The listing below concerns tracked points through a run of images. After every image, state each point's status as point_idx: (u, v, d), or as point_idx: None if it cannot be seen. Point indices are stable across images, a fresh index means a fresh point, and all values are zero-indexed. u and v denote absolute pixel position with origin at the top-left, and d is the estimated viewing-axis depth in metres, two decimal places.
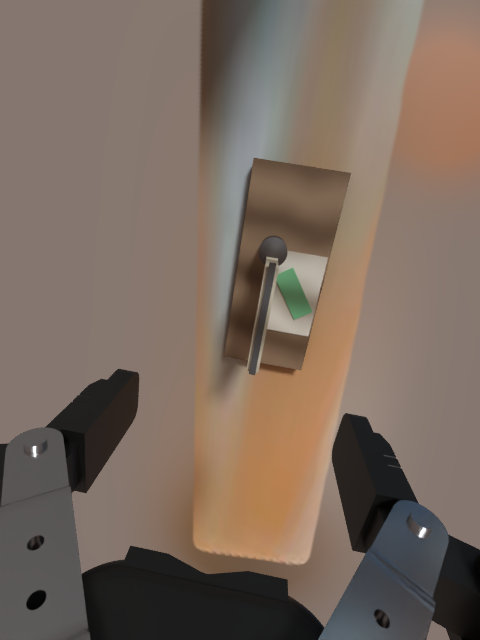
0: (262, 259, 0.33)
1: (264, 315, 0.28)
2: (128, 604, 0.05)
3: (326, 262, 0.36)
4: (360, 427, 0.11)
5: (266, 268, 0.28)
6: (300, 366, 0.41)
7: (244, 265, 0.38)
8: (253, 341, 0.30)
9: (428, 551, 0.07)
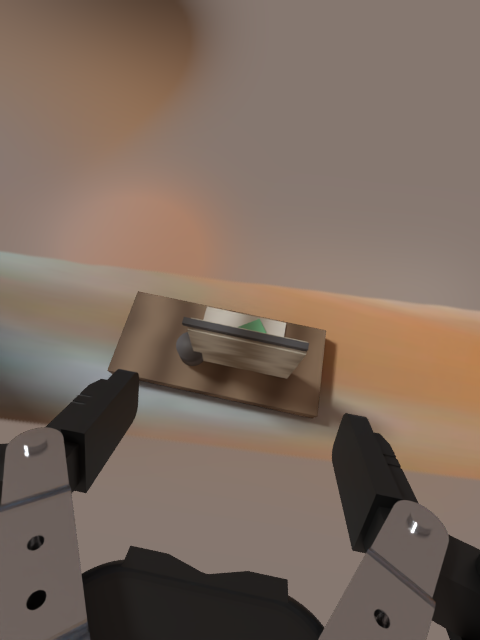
0: (196, 355, 0.33)
1: (237, 329, 0.27)
2: (128, 604, 0.05)
3: (211, 307, 0.39)
4: (360, 427, 0.11)
5: (189, 328, 0.27)
6: (321, 330, 0.39)
7: (208, 385, 0.35)
8: (269, 345, 0.27)
9: (428, 551, 0.07)
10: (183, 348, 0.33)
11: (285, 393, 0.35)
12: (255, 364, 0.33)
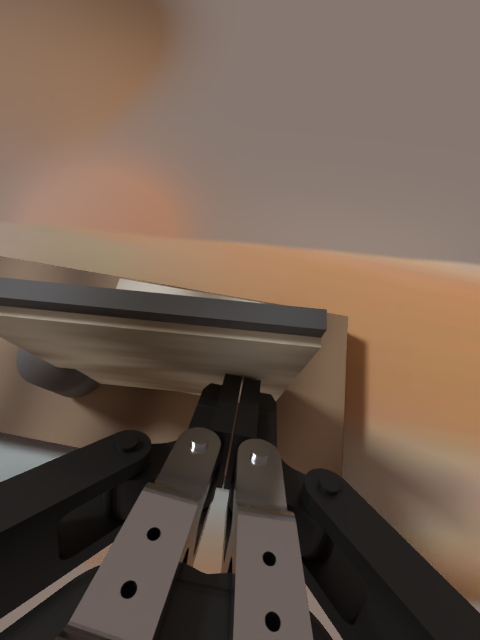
0: (62, 376, 0.14)
1: (99, 293, 0.09)
2: None
3: (128, 280, 0.20)
4: (249, 387, 0.12)
5: None
6: (339, 317, 0.20)
7: None
8: (207, 330, 0.09)
9: (254, 472, 0.08)
10: (33, 364, 0.14)
11: None
12: (200, 381, 0.14)
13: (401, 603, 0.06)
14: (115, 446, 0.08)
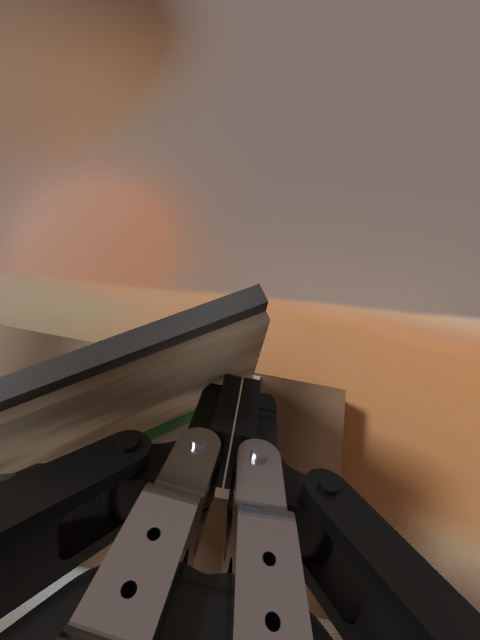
0: None
1: (26, 375, 0.08)
2: None
3: None
4: (249, 387, 0.12)
5: None
6: (336, 391, 0.18)
7: None
8: (159, 356, 0.08)
9: (254, 472, 0.08)
10: None
11: None
12: (173, 406, 0.14)
13: (401, 603, 0.06)
14: (115, 446, 0.08)
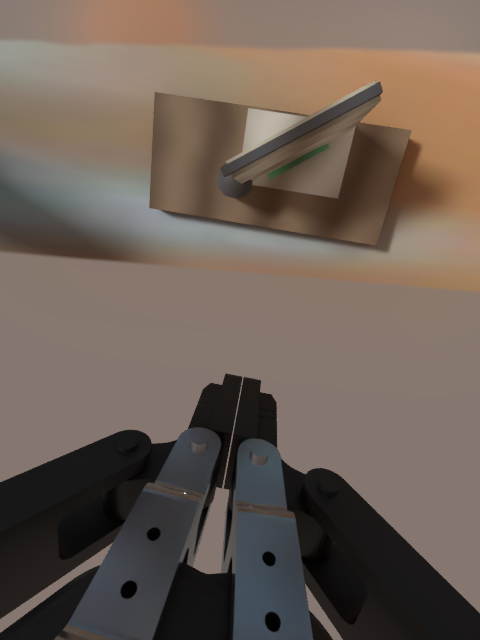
0: (247, 185, 0.28)
1: (285, 136, 0.21)
2: None
3: (254, 109, 0.29)
4: (249, 387, 0.12)
5: (233, 175, 0.22)
6: (404, 131, 0.29)
7: (258, 217, 0.32)
8: (330, 123, 0.21)
9: (253, 472, 0.08)
10: (230, 188, 0.28)
11: (344, 222, 0.32)
12: (312, 147, 0.26)
13: (401, 603, 0.06)
14: (115, 446, 0.08)
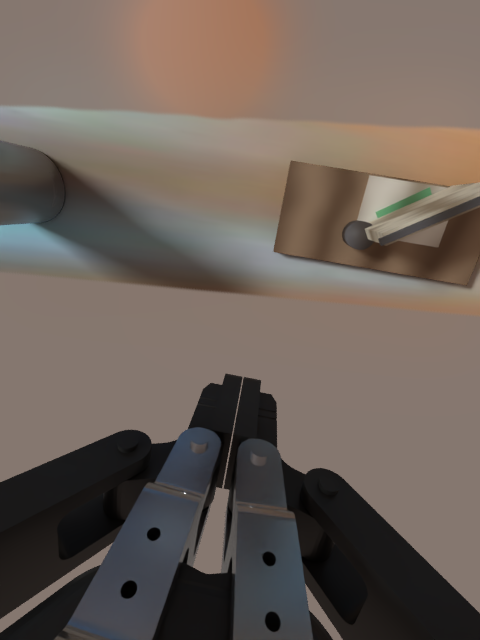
0: (372, 240, 0.34)
1: (436, 218, 0.27)
2: None
3: (374, 176, 0.35)
4: (249, 387, 0.12)
5: (387, 243, 0.29)
6: None
7: (367, 261, 0.39)
8: (471, 208, 0.27)
9: (253, 472, 0.08)
10: (357, 243, 0.34)
11: (440, 266, 0.38)
12: None
13: (401, 603, 0.06)
14: (115, 446, 0.08)
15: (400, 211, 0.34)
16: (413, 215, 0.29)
